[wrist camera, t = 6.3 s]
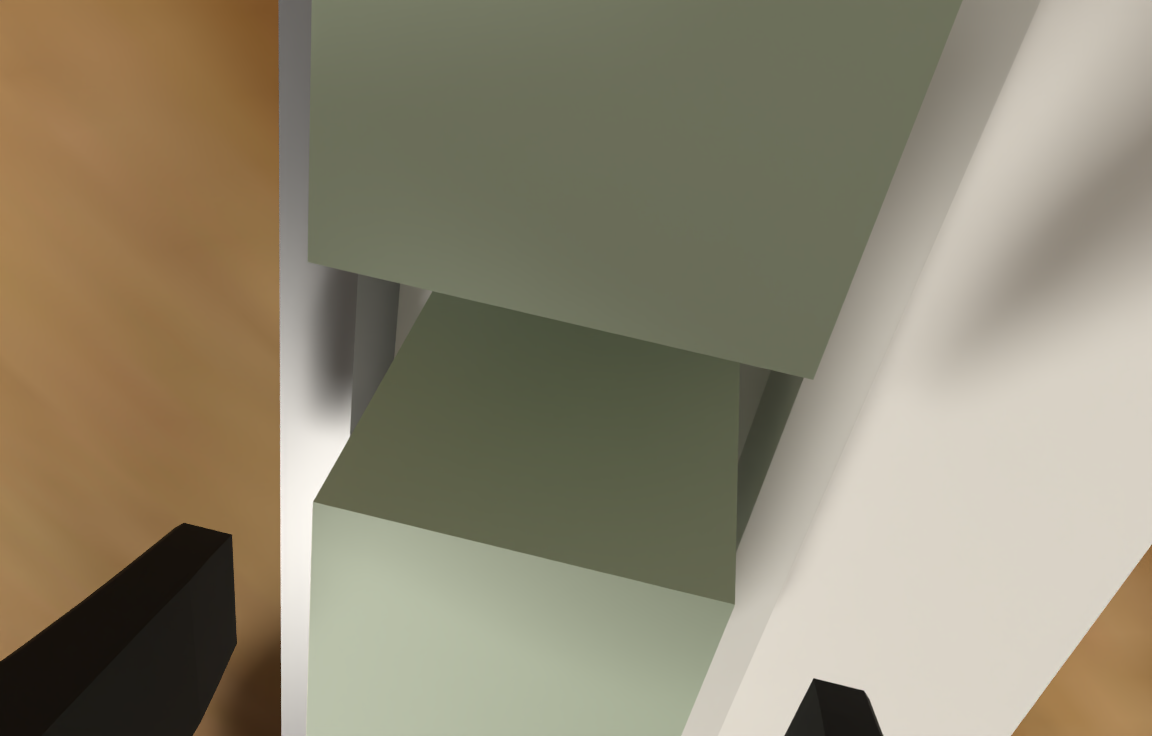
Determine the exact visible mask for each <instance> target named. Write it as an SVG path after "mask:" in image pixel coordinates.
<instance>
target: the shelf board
mask: <svg viewBox="0 0 1152 736" xmlns="http://www.w3.org/2000/svg"><path fill="white" fill-rule="evenodd" d="M431 293H432V291H430V290H426V289H421V288H417V287H413V286H408V285H404V284H400V291H399V304H398V316H397V329H396V341H395V354H394V358H395V356H396V355H397V353H398V351H399V349H400V348H401V346H402V344H403V342H404V340H405V339H406V337H407V335H408V333H409V332H410V330H411V328H412V326H413V325H414V323H415V321H416V319H417V318H418V316H419V314H420V312H421V310H422V309H423V307H424V305H425V303H426V302H427V300H428V298H429V296H430V295H431ZM1151 544H1152V0H963V1H962V3H961V6H960V8H959V11H958V13H957V16H956V19H955V21H954V24H953V26H952V29H951V31H950V34H949V36H948V39H947V41H946V44H945V46H944V49H943V52H942V54H941V57H940V59H939V62H938V64H937V67H936V69H935V72H934V74H933V77H932V79H931V82H930V85H929V87H928V90H927V92H926V95H925V97H924V100H923V102H922V105H921V107H920V110H919V113H918V115H917V118H916V120H915V123H914V125H913V128H912V130H911V133H910V135H909V138H908V140H907V143H906V146H905V148H904V151H903V153H902V156H901V158H900V161H899V163H898V166H897V168H896V171H895V173H894V176H893V179H892V181H891V184H890V186H889V189H888V191H887V194H886V196H885V199H884V201H883V204H882V207H881V209H880V212H879V214H878V217H877V219H876V222H875V224H874V227H873V229H872V232H871V234H870V237H869V240H868V242H867V245H866V247H865V250H864V252H863V255H862V257H861V260H860V262H859V265H858V267H857V270H856V273H855V275H854V278H853V280H852V283H851V285H850V288H849V290H848V293H847V295H846V298H845V301H844V303H843V306H842V308H841V311H840V313H839V316H838V318H837V321H836V323H835V326H834V328H833V331H832V334H831V336H830V339H829V341H828V344H827V346H826V349H825V351H824V354H823V356H822V359H821V361H820V364H819V367H818V369H817V372H816V374H815V377H814V379H813V380H812V379H807V378H803V377H799V376H794V375H790V374H786V373H782V372H777V371H773V370H769V369H764V368H760V367H756V366H752V365H747V364H743V363H740V385H739V434H738V483H737V531H736V580H735V606H734V608H733V611H732V613H731V616H730V618H729V621H728V623H727V625H726V628H725V630H724V633H723V635H722V638H721V640H720V642H719V645H718V647H717V650H716V652H715V655H714V657H713V660H712V662H711V664H710V667H709V669H708V672H707V674H706V677H705V679H704V681H703V684H702V686H701V689H700V691H699V694H698V696H697V698H696V701H695V703H694V706H693V708H692V711H691V713H690V716H689V718H688V720H687V723H686V725H685V728H684V730H683V733H682V735H681V736H784V735H785V733H786V731H787V729H788V728H789V726H790V724H791V722H792V720H793V718H794V716H795V714H796V712H797V710H798V708H799V706H800V704H801V702H802V700H803V698H804V696H805V694H806V692H807V690H808V688H809V686H810V684H811V682H812V680H813V678H815V679H819V680H823V681H827V682H831V683H835V684H839V685H843V686H848V687H852V688H856V689H860V690H864V691H865V693H866V695H867V696H868V698H869V699H870V702H871V705H872V707H873V710H874V713H875V715H876V718H877V721H878V723H879V726H880V728H881V731H882V734H883V736H1011V735H1012V733H1013V732H1014V731H1015V729H1016V728H1017V727H1018V725H1019V724H1020V722H1021V721H1022V720H1023V718H1024V717H1025V716H1026V714H1027V713H1028V712H1029V710H1030V709H1031V708H1032V706H1033V705H1034V703H1035V702H1036V701H1037V699H1038V698H1039V697H1040V695H1041V694H1042V693H1043V691H1044V690H1045V689H1046V687H1047V686H1048V684H1049V683H1050V682H1051V680H1052V679H1053V678H1054V676H1055V675H1056V674H1057V672H1058V671H1059V669H1060V668H1061V667H1062V665H1063V664H1064V663H1065V661H1066V660H1067V659H1068V657H1069V656H1070V655H1071V653H1072V652H1073V650H1074V649H1075V648H1076V646H1077V645H1078V644H1079V642H1080V641H1081V640H1082V638H1083V637H1084V636H1085V634H1086V633H1087V631H1088V630H1089V629H1090V627H1091V626H1092V625H1093V623H1094V622H1095V621H1096V619H1097V618H1098V616H1099V615H1100V614H1101V612H1102V611H1103V610H1104V608H1105V607H1106V606H1107V604H1108V603H1109V602H1110V600H1111V599H1112V597H1113V596H1114V595H1115V593H1116V592H1117V591H1118V589H1119V588H1120V587H1121V585H1122V584H1123V583H1124V581H1125V580H1126V578H1127V577H1128V576H1129V574H1130V573H1131V572H1132V570H1133V569H1134V568H1135V566H1136V565H1137V563H1138V562H1139V561H1140V559H1141V558H1142V557H1143V555H1144V554H1145V553H1146V551H1147V550H1148V549H1149V547H1150V546H1151Z"/></svg>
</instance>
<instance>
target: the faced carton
mask: <svg viewBox="0 0 1152 736" xmlns="http://www.w3.org/2000/svg"><path fill="white" fill-rule="evenodd" d="M962 1H963V0H312V12H311V76H310V140H309V205H308V262H310V263H314V264H318V265H323V266H327V267H331V268H336V269H340V270H344V271H348V272H353V273H357V274H361V275H366V276H370V277H374V278H378V279H383V280H387V281H391V282H396V283H400V284H404V285H408V286H413V287H417V288H421V289H426V290H430V291H434V292H438V293H443V294H447V295H451V296H456V297H460V298H464V299H468V300H473V301H477V302H481V303H486V304H490V305H494V306H498V307H503V308H507V309H511V310H516V311H520V312H524V313H529V314H533V315H537V316H541V317H546V318H550V319H554V320H559V321H563V322H567V323H571V324H576V325H580V326H584V327H589V328H593V329H597V330H601V331H606V332H610V333H614V334H619V335H623V336H627V337H631V338H636V339H640V340H644V341H649V342H653V343H657V344H661V345H666V346H670V347H674V348H679V349H683V350H687V351H692V352H696V353H700V354H704V355H709V356H713V357H717V358H722V359H726V360H730V361H734V362H739V363H743V364H747V365H752V366H756V367H760V368H764V369H769V370H773V371H777V372H782V373H786V374H790V375H794V376H799V377H803V378H807V379H812V380H813V379H814V377H815V374H816V372H817V369H818V367H819V364H820V361H821V359H822V356H823V354H824V351H825V349H826V346H827V344H828V341H829V339H830V336H831V334H832V331H833V328H834V326H835V323H836V321H837V318H838V316H839V313H840V311H841V308H842V306H843V303H844V301H845V298H846V295H847V293H848V290H849V288H850V285H851V283H852V280H853V278H854V275H855V273H856V270H857V267H858V265H859V262H860V260H861V257H862V255H863V252H864V250H865V247H866V245H867V242H868V240H869V237H870V234H871V232H872V229H873V227H874V224H875V222H876V219H877V217H878V214H879V212H880V209H881V207H882V204H883V201H884V199H885V196H886V194H887V191H888V189H889V186H890V184H891V181H892V179H893V176H894V173H895V171H896V168H897V166H898V163H899V161H900V158H901V156H902V153H903V151H904V148H905V146H906V143H907V140H908V138H909V135H910V133H911V130H912V128H913V125H914V123H915V120H916V118H917V115H918V113H919V110H920V107H921V105H922V102H923V100H924V97H925V95H926V92H927V90H928V87H929V85H930V82H931V79H932V77H933V74H934V72H935V69H936V67H937V64H938V62H939V59H940V57H941V54H942V52H943V49H944V46H945V44H946V41H947V39H948V36H949V34H950V31H951V29H952V26H953V24H954V21H955V19H956V16H957V13H958V11H959V8H960V6H961V3H962Z"/></svg>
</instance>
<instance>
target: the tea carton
mask: <svg viewBox="0 0 1152 736" xmlns="http://www.w3.org/2000/svg"><path fill="white" fill-rule="evenodd" d="M739 385H740V363H739V362H734V361H730V360H726V359H722V358H717V357H713V356H709V355H704V354H700V353H696V352H692V351H687V350H683V349H679V348H674V347H670V346H666V345H661V344H657V343H653V342H649V341H644V340H640V339H636V338H631V337H627V336H623V335H619V334H614V333H610V332H606V331H601V330H597V329H593V328H589V327H584V326H580V325H576V324H571V323H567V322H563V321H559V320H554V319H550V318H546V317H541V316H537V315H533V314H529V313H524V312H520V311H516V310H511V309H507V308H503V307H498V306H494V305H490V304H486V303H481V302H477V301H473V300H468V299H464V298H460V297H456V296H451V295H447V294H443V293H438V292H434V291H432V293H431V295H430V296H429V298H428V300H427V302H426V303H425V305H424V307H423V309H422V310H421V312H420V314H419V316H418V318H417V319H416V321H415V323H414V325H413V326H412V328H411V330H410V332H409V333H408V335H407V337H406V339H405V340H404V342H403V344H402V346H401V348H400V349H399V351H398V353H397V355H396V356H395V358H394V360H393V362H392V363H391V365H390V367H389V369H388V370H387V372H386V374H385V376H384V378H383V379H382V381H381V383H380V385H379V386H378V388H377V390H376V392H375V393H374V395H373V397H372V399H371V401H370V402H369V404H368V406H367V408H366V409H365V411H364V413H363V415H362V416H361V418H360V420H359V422H358V423H357V425H356V427H355V429H354V431H353V432H352V434H351V436H350V438H349V439H348V441H347V443H346V445H345V446H344V448H343V450H342V452H341V453H340V455H339V457H338V459H337V461H336V462H335V464H334V466H333V468H332V469H331V471H330V473H329V475H328V476H327V478H326V480H325V482H324V484H323V485H322V487H321V489H320V491H319V492H318V494H317V496H316V498H315V499H314V501H313V510H312V544H311V578H310V612H309V647H308V681H307V715H306V736H681V735H682V733H683V730H684V728H685V725H686V723H687V720H688V718H689V716H690V713H691V711H692V708H693V706H694V703H695V701H696V698H697V696H698V694H699V691H700V689H701V686H702V684H703V681H704V679H705V677H706V674H707V672H708V669H709V667H710V664H711V662H712V660H713V657H714V655H715V652H716V650H717V647H718V645H719V642H720V640H721V638H722V635H723V633H724V630H725V628H726V625H727V623H728V621H729V618H730V616H731V613H732V611H733V608H734V606H735V580H736V531H737V483H738V434H739Z"/></svg>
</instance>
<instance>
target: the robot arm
mask: <svg viewBox="0 0 1152 736" xmlns="http://www.w3.org/2000/svg"><path fill="white" fill-rule="evenodd" d="M236 644H237V637H236V615H235V592H234V570H233V548H232V535H231V534H227V533H223V532H219V531H215V530H211V529H207V528H203V527H199V526H194V525H190V524H186V523H183V524H181V525H179V526H177V527H176V528H174V529H173V530H172V531H171V532H169V533H168V534H167V535H166V536H164V537H163V538H162V539H161V540H159V541H158V542H157V543H156V544H154V545H153V546H152V547H151V548H149V549H148V550H147V551H146V552H144V553H143V554H142V555H141V556H139V557H138V558H137V559H136V560H134V561H133V562H132V563H131V564H129V565H128V566H127V567H126V568H124V569H123V570H122V571H121V572H119V573H118V574H117V575H115V576H114V577H113V578H112V579H110V580H109V581H108V582H107V583H105V584H104V585H103V586H101V587H100V588H99V589H97V590H96V591H95V592H94V593H92V594H91V595H90V596H88V597H87V598H86V599H85V600H83V601H82V602H81V603H79V604H78V605H77V606H75V607H74V608H73V609H71V610H70V611H69V612H67V613H66V614H65V615H63V616H62V617H61V618H59V619H58V620H57V621H55V622H54V623H52V624H51V625H50V626H48V627H47V628H46V629H44V630H43V631H42V632H40V633H39V634H38V635H36V636H35V637H34V638H32V639H31V640H30V641H28V642H27V643H25V644H24V645H23V646H21V647H20V648H19V649H17V650H16V651H14V652H13V653H12V654H10V655H9V656H7V657H6V658H5V659H3V660H2V661H0V736H193V734H194V732H195V731H196V729H197V727H198V725H199V724H200V722H201V720H202V718H203V716H204V714H205V712H206V710H207V707H208V705H209V703H210V701H211V699H212V697H213V695H214V693H215V691H216V688H217V686H218V684H219V682H220V680H221V677H222V675H223V673H224V671H225V668H226V666H227V664H228V662H229V659H230V657H231V655H232V653H233V651H234V648H235V646H236ZM784 736H883V734H882V731H881V728H880V726H879V723H878V721H877V718H876V715H875V713H874V710H873V707H872V705H871V702H870V699H869V698H868V696H867V695H866V693H865V691H864V690H860V689H856V688H852V687H848V686H843V685H839V684H835V683H831V682H827V681H823V680H819V679H815V678H813V680H812V682H811V684H810V686H809V688H808V690H807V692H806V694H805V696H804V698H803V700H802V702H801V704H800V706H799V708H798V710H797V712H796V714H795V716H794V718H793V720H792V722H791V724H790V726H789V728H788V729H787V731H786V733H785V735H784Z"/></svg>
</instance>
